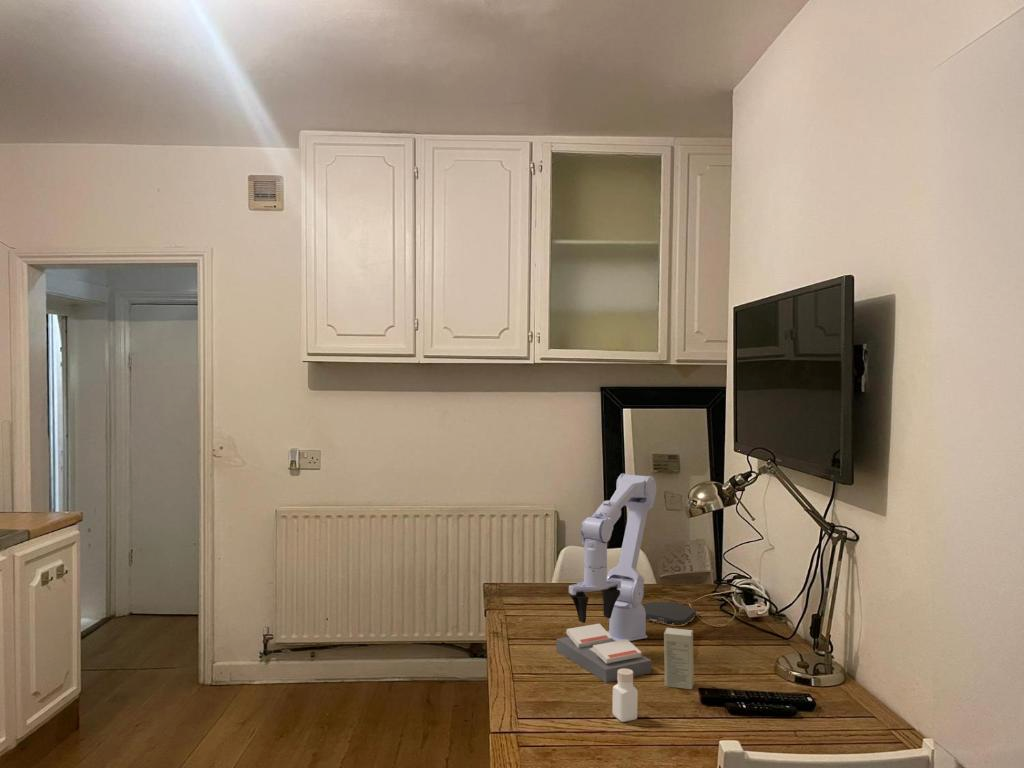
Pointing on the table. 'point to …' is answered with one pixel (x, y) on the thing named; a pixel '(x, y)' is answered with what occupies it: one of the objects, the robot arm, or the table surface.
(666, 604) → the media streaming box
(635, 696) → the white pill bottle
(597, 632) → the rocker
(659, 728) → the table surface
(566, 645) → the rocker switch panel
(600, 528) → the robot arm
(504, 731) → the table surface
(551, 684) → the table surface
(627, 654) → the rocker
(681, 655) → the skincare box
